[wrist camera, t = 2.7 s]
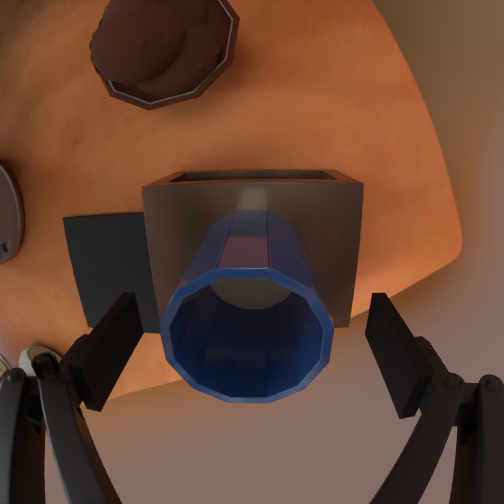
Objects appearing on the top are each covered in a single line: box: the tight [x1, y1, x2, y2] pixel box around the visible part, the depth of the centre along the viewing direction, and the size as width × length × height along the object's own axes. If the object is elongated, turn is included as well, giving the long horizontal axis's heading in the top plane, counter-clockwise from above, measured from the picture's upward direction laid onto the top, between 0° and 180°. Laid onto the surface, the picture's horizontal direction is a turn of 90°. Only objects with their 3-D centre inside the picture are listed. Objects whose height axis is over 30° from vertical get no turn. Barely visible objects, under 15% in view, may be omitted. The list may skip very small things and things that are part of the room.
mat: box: [63, 213, 160, 333], centre depth 34 cm, size 13×15×1 cm
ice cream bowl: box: [89, 0, 240, 110], centre depth 19 cm, size 11×11×15 cm
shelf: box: [142, 169, 364, 328], centre depth 27 cm, size 16×12×9 cm
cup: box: [159, 210, 334, 403], centre depth 19 cm, size 8×8×10 cm
